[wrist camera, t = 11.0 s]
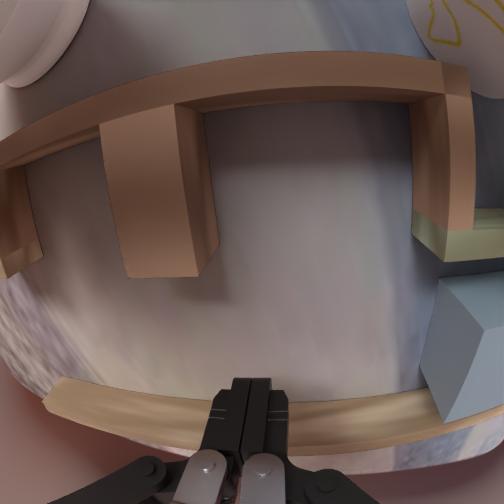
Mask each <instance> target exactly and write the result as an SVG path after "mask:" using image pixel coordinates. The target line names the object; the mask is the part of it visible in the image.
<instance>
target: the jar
mask: <svg viewBox="0 0 504 504" xmlns="http://www.w3.org/2000/svg"><path fill="white" fill-rule="evenodd" d="M88 4H89V0H0V83H1V82H4V83H5V84H7V85H8V86H11V87H24V86H27V85H29V84H31V83H33V82H35V81H36V80H38V79H39V78H40V77H42V76H43V75H44V74H45V73H46V72H47V71H48V70H49V69H50V68H51V67H52V66H53V65H54V64H55V63H56V62H57V61H58V59H59V58H60V57H61V55H62V54H63V53H64V52H65V50H66V49H67V47H68V46H69V44H70V43H71V41H72V40H73V38H74V36H75V35H76V33H77V31H78V29H79V27H80V25H81V23H82V21H83V18H84V16H85V14H86V11H87V8H88Z"/></svg>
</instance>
